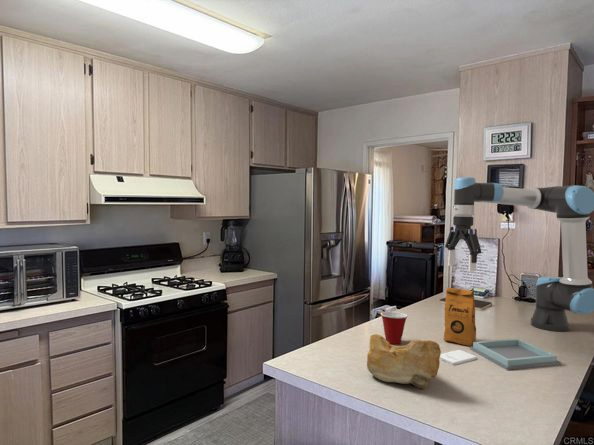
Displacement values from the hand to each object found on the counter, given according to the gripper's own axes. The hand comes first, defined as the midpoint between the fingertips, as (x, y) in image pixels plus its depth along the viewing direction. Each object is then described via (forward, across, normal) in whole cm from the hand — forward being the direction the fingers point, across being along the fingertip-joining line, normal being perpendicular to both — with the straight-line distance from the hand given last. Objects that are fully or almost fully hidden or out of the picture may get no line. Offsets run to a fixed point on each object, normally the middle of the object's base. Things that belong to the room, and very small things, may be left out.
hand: (461, 268), depth 165 cm
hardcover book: (+31, -54, +42) cm, 75 cm away
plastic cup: (+31, -5, -26) cm, 41 cm away
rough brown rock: (+31, +27, -38) cm, 56 cm away
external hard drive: (+31, +15, -12) cm, 37 cm away
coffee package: (+31, 0, 0) cm, 31 cm away
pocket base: (+30, +18, +10) cm, 37 cm away
